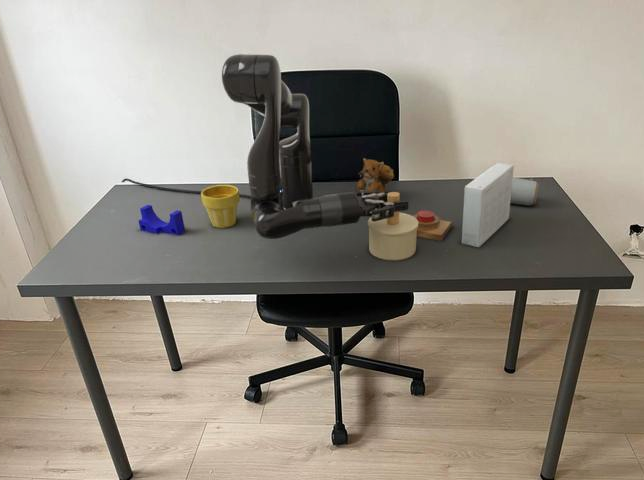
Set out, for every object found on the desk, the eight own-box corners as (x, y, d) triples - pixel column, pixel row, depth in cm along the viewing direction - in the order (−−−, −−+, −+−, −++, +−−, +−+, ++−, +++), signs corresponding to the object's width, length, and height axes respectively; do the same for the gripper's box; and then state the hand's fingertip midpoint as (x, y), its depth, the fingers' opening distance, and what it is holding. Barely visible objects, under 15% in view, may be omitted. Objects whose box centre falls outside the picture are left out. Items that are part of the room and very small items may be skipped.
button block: (398, 233, 147) (398, 221, 146) (410, 220, 154) (410, 208, 153) (441, 240, 143) (442, 228, 141) (451, 227, 150) (452, 215, 148)
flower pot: (249, 218, 158) (245, 186, 153) (231, 232, 150) (226, 199, 145) (218, 213, 161) (213, 182, 156) (198, 228, 153) (193, 195, 148)
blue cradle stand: (140, 230, 153) (136, 210, 150) (151, 224, 156) (147, 204, 153) (174, 237, 148) (170, 217, 145) (185, 230, 152) (181, 211, 149)
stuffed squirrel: (347, 203, 166) (346, 161, 159) (370, 188, 176) (370, 149, 170) (376, 210, 161) (376, 167, 155) (397, 194, 172) (398, 153, 165)
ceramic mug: (535, 209, 159) (539, 184, 155) (506, 206, 161) (509, 182, 157) (536, 197, 167) (540, 173, 164) (509, 194, 170) (512, 170, 166)
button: (415, 221, 146) (415, 215, 145) (420, 215, 150) (420, 209, 149) (430, 224, 145) (431, 218, 144) (435, 218, 148) (436, 212, 147)
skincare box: (490, 215, 156) (497, 161, 148) (509, 219, 153) (516, 165, 146) (458, 243, 141) (464, 185, 134) (478, 248, 139) (485, 189, 131)
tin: (361, 254, 137) (361, 229, 134) (380, 235, 146) (380, 211, 143) (406, 264, 132) (406, 238, 129) (421, 243, 142) (423, 219, 138)
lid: (359, 232, 134) (359, 199, 129) (379, 213, 143) (379, 181, 139) (407, 241, 129) (409, 207, 124) (425, 221, 139) (426, 188, 134)
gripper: (344, 206, 122) (415, 196, 126) (328, 184, 134) (393, 176, 138) (345, 236, 125) (414, 226, 129) (330, 212, 137) (393, 204, 141)
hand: (403, 200), depth 133 cm, fingers open, 5 cm apart
